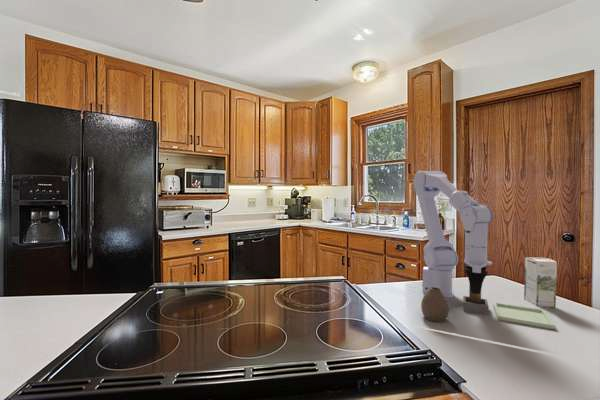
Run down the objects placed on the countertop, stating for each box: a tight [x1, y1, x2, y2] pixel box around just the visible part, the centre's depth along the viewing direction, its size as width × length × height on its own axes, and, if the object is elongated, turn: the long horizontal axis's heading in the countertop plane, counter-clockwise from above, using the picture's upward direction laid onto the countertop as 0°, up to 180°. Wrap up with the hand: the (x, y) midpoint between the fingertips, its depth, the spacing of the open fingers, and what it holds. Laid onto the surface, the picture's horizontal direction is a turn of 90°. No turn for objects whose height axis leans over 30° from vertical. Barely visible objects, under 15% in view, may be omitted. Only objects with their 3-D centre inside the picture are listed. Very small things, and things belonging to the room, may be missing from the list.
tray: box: [492, 301, 556, 331], centre depth 81 cm, size 12×12×2 cm
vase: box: [420, 287, 450, 323], centre depth 80 cm, size 7×7×9 cm
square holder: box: [462, 295, 490, 316], centre depth 87 cm, size 6×6×3 cm
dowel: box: [468, 285, 482, 304], centre depth 87 cm, size 3×3×8 cm
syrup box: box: [523, 256, 558, 309], centre depth 92 cm, size 6×6×14 cm
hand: (475, 291), depth 87 cm, fingers closed on dowel, 3 cm apart
